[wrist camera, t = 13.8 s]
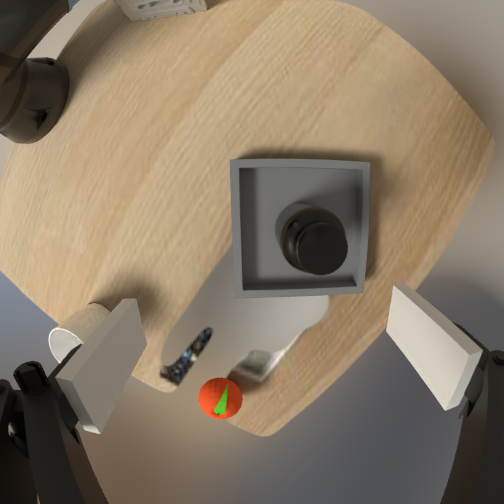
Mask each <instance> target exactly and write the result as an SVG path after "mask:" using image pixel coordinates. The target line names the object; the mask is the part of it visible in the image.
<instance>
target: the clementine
mask: <svg viewBox="0 0 504 504" xmlns="http://www.w3.org/2000/svg"><path fill="white" fill-rule="evenodd" d="M242 400H243V399H242V393H241V391H240V389H239V387H238V386H237V385H236V384H235V383H234V382H232V381H231V380H228V379H226V378H215V379H211V380H209V381H207V382H206V383H205V384H204V385H203V386H202V388H201V390H200V392H199V404H200V407H201V408H202V410H203V411H204V412H205V413H206V414H207V415H209V416H210V417H213V418H216V419H226V418H229V417H232V416H233V415H235V414H236V413H237V412H238V410H239V409H240V408H241V404H242Z"/></svg>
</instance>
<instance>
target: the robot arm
mask: <svg viewBox="0 0 504 504" xmlns="http://www.w3.org/2000/svg"><path fill="white" fill-rule="evenodd" d="M78 1H79V0H0V134H2V135H3V136H5V137H7V138H8V139H10V140H11V141H13V142H16V143H23V144H30V143H34V142H36V141H38V140H40V139H41V138H43V137H44V136H45V135H46V134H47V133H48V132H49V131H50V130H51V128H52V127H53V126H54V124H55V123H56V121H57V120H58V118H59V116H60V114H61V112H62V110H63V107H64V105H65V102H66V99H67V95H68V89H69V76H68V72H67V69H66V67H65V66H64V65H63V64H62V63H61V62H59V61H57V60H55V59H52V58H47V57H45V58H27V57H28V55H29V54H30V53H31V52H32V50H33V49H34V48H35V47H36V46H37V44H38V43H39V42H40V41H41V40H42V39H43V37H44V36H45V35H46V34H47V33H48V32H49V31H50V30H51V29H52V28H53V26H54V25H55V24H56V23H57V22H58V21H59V20H60V19H61V18H62V17H63V16H64V15H65V14H66V13H69V12H70V11H71V10H72V7H73V6H74V5H75V4H76V3H77V2H78ZM386 331H387V333H388V334H389V335H390V336H391V338H392V339H393V340H394V341H395V343H396V344H397V345H398V347H399V348H400V349H401V351H402V352H403V353H404V354H405V356H406V357H407V358H408V360H409V361H410V362H411V364H412V365H413V366H414V368H415V369H416V371H417V372H418V373H419V375H420V376H421V377H422V379H423V380H424V382H425V383H426V384H427V386H428V387H429V389H430V390H431V391H432V393H433V394H434V396H435V397H436V398H437V400H438V401H439V403H440V404H441V406H442V407H443V408H444V410H448V409H450V408H453V407H455V406H457V405H459V403H460V401H461V399H462V397H463V395H464V394H465V395H466V397H467V398H468V400H467V402H466V404H465V406H464V408H463V410H462V411H461V413H460V415H459V417H458V419H460V418H461V416H462V415H463V414H464V415H463V422H462V427H461V432H460V437H459V442H458V446H457V450H456V454H455V458H454V462H453V466H452V470H451V473H450V476H449V479H448V483H447V486H446V489H445V491H444V495H443V497H442V500H441V503H440V504H504V352H503V351H500V350H495V351H491V352H490V351H489V350H487V348H485V347H484V346H483V345H482V344H481V343H480V342H479V341H478V340H477V339H475V338H473V336H472V335H471V334H470V333H468V332H467V331H466V330H465V329H464V328H463V327H462V326H460V325H458V324H456V323H454V322H451V321H450V320H449V319H447V318H446V317H445V316H444V315H443V314H442V313H440V312H439V311H438V310H437V309H435V308H434V307H433V306H432V305H431V304H430V303H428V302H427V301H426V300H425V299H424V298H422V297H421V296H420V295H419V294H417V293H416V292H415V291H414V290H413V289H411V288H410V287H409V286H408V285H406V284H400V285H393V292H392V299H391V306H390V312H389V318H388V324H387V329H386ZM146 345H147V342H146V338H145V334H144V330H143V326H142V322H141V317H140V313H139V308H138V304H137V299H123V300H122V301H121V302H120V303H119V304H118V305H117V306H116V307H115V308H114V309H113V310H112V312H111V313H110V314H109V315H108V316H107V317H106V318H105V319H104V320H103V322H102V323H101V324H100V325H99V326H98V327H97V328H96V329H95V331H94V332H93V333H92V334H91V335H90V336H89V337H88V339H87V340H86V341H85V342H84V343H83V344H79V345H78V346H76V347H75V348H73V349H72V350H71V351H70V352H69V353H68V354H67V355H66V357H65V358H64V359H63V360H62V361H61V363H60V364H59V365H58V366H57V367H56V368H55V370H54V371H53V372H52V373H51V374H50V376H49V377H48V378H47V376H46V374H45V372H44V370H43V368H42V365H41V364H40V363H39V362H35V361H30V362H26V363H24V364H22V365H20V366H19V367H18V368H17V369H16V370H15V371H14V374H13V376H14V378H15V380H16V382H17V383H18V385H19V387H20V389H21V390H13V388H12V387H11V385H10V383H9V381H7V380H4V379H1V380H0V504H37V494H38V497H39V501H40V504H109V503H108V501H107V499H106V497H105V495H104V493H103V491H102V489H101V487H100V485H99V483H98V480H97V478H96V477H95V474H94V471H93V469H92V467H91V464H90V462H89V460H88V457H87V455H86V452H85V449H84V447H83V444H82V441H81V438H80V435H79V432H78V430H77V429H76V427H75V426H76V424H77V422H78V421H80V423H81V425H82V426H83V428H84V430H87V431H91V432H95V433H98V434H101V432H102V430H103V428H104V426H105V424H106V422H107V420H108V418H109V416H110V414H111V412H112V410H113V407H114V406H115V404H116V402H117V400H118V398H119V396H120V394H121V392H122V390H123V388H124V386H125V384H126V383H127V381H128V379H129V377H130V375H131V373H132V371H133V369H134V368H135V366H136V364H137V362H138V360H139V358H140V356H141V355H142V353H143V351H144V349H145V347H146ZM8 427H9V429H10V430H11V434H10V435H9V433H8Z"/></svg>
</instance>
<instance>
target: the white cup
mask: <svg viewBox="0 0 504 504" xmlns="http://www.w3.org/2000/svg"><path fill="white" fill-rule="evenodd" d="M109 314H110V311H109V310H108V309H106V308H105V307H104V306H103V305H100V304H97V303H91V304H87V305H86V306H85V307H83V308H82V309H81V310H79V311H77V312H76V313H74V314H73V315H71V316H70V317H69V318H67V319H66V320H65V321H63V322H62V323H61V324H60V325H58V326H57V327H56V328H54V329H53V330H52V331H51V332H50V334H49V346H50V349H51V351H52V353H53V355H54V357H55V358H56V360H57V361H58V362H59V363H61V361H62V360H63V359H64V358H65V357H66V355H67V354H68V353H69V352H70V351H71V350H72V349H73V348H75V347H76V346H78V345H79V344H83V343H84V342H85V341H86V340H87V339H88V337H89V336H90V335H91V334H92V333H93V332H94V331H95V329H96V328H97V327H98V326H99V325H100V324H101V323H102V322H103V320H104V319H105V318H106V317H107V316H108V315H109Z"/></svg>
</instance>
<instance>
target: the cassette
mask: <svg viewBox="0 0 504 504" xmlns="http://www.w3.org/2000/svg"><path fill="white" fill-rule="evenodd" d="M113 1H114V2H115V3H116V4H117V5H118V6H119V8H120V9H121V10H122V11H123V12H124V13H125V14H126V16H127V17H128V18H129V19H130V20H131V21H136V20H141V19H142V21H144V20H150V19H155V18H162V17H168V16H176V15H184V14H194V13H195V12H198V11H207V9H208V6H207V2H206V0H113Z"/></svg>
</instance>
